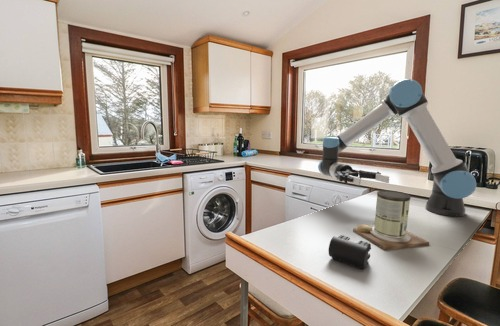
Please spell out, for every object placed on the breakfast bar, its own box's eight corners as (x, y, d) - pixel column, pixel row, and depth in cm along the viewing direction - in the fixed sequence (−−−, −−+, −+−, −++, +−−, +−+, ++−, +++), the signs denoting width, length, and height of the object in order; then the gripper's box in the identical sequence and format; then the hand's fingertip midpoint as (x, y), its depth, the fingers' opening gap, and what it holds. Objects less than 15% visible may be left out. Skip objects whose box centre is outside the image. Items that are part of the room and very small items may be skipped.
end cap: (327, 261, 79) (328, 239, 78) (337, 252, 84) (338, 232, 83) (362, 274, 73) (365, 250, 72) (370, 264, 78) (373, 242, 77)
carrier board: (392, 226, 107) (393, 221, 106) (429, 244, 92) (430, 238, 91) (353, 230, 102) (353, 225, 101) (384, 250, 87) (385, 243, 86)
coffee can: (372, 225, 103) (375, 188, 101) (402, 229, 100) (407, 192, 97) (374, 235, 93) (378, 195, 91) (409, 240, 90) (414, 199, 88)
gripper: (363, 178, 132) (398, 188, 111) (317, 181, 124) (346, 192, 104) (364, 162, 130) (400, 169, 110) (318, 164, 123) (347, 172, 103)
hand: (374, 180), depth 107 cm, fingers open, 13 cm apart
